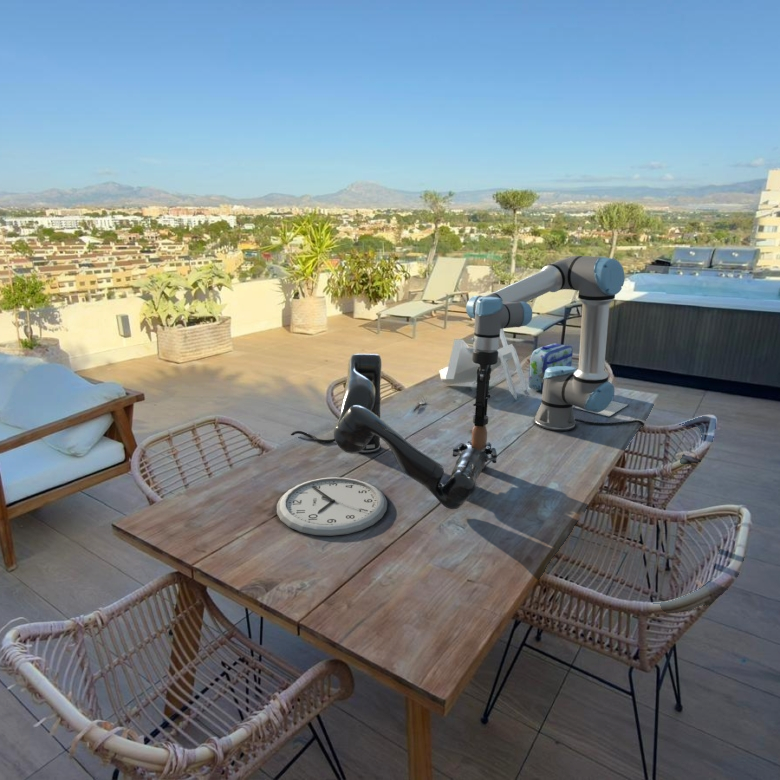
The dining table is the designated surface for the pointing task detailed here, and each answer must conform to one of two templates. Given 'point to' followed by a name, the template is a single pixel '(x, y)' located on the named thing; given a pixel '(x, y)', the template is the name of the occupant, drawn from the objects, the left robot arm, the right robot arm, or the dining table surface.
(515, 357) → the white plastic object
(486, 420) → the cap
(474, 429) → the bottle
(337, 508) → the wall clock
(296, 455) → the dining table surface
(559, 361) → the lunch box
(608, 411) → the invitation card
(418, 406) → the fork
